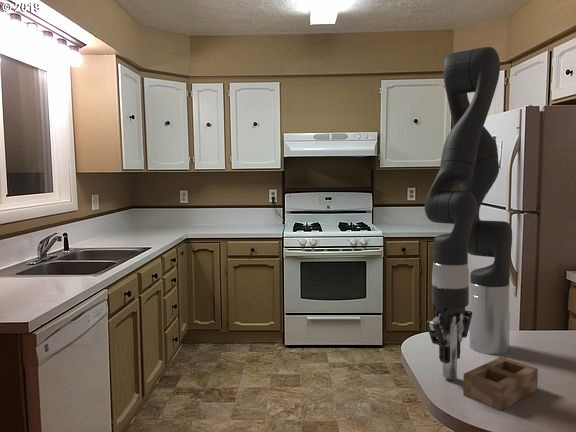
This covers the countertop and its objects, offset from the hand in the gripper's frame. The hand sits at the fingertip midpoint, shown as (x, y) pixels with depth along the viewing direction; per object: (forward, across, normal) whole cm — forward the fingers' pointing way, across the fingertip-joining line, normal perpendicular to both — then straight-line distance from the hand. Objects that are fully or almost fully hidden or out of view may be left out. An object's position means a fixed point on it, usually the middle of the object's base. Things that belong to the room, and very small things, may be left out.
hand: (449, 359), depth 100 cm
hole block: (+4, -3, +10) cm, 11 cm away
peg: (+4, 0, 0) cm, 4 cm away
